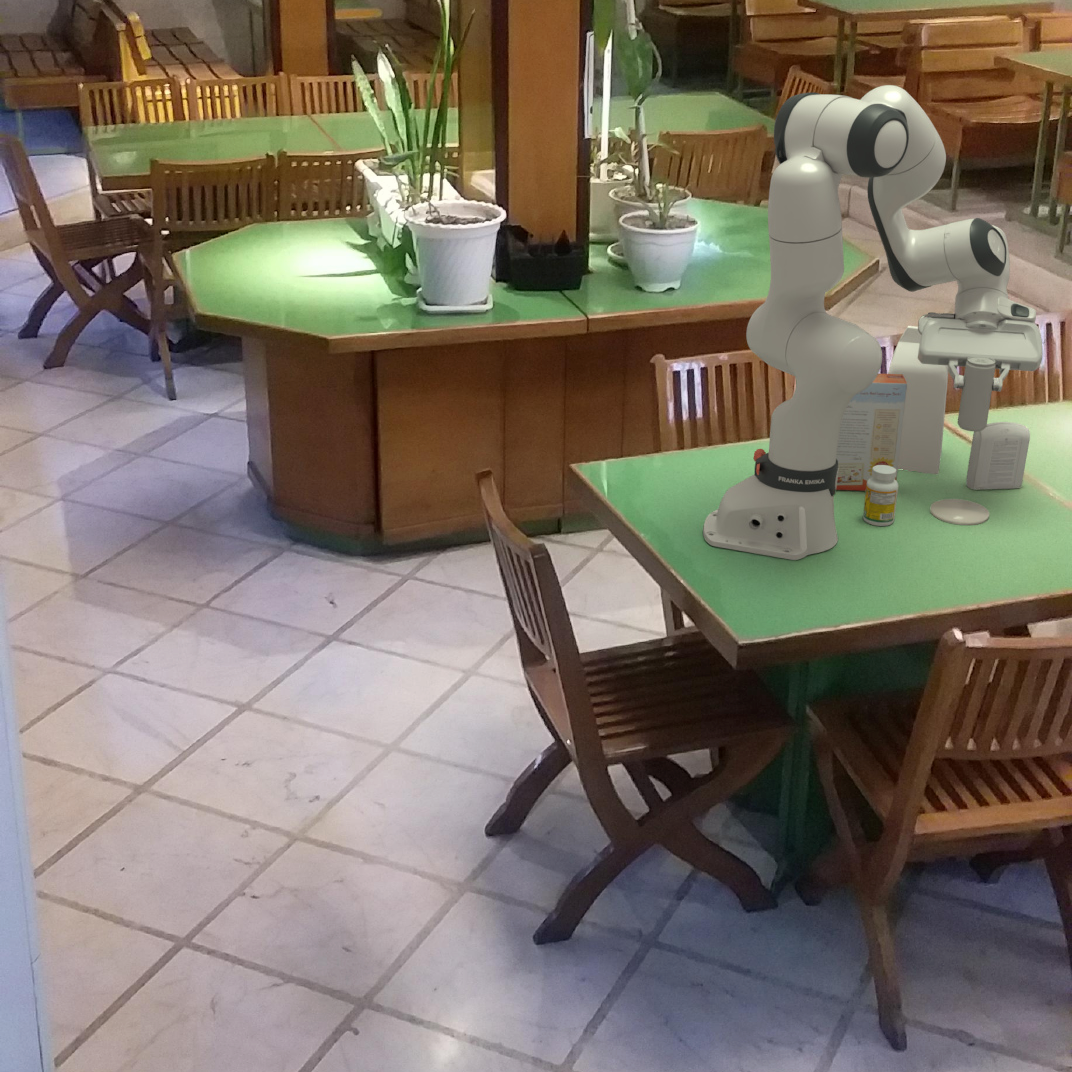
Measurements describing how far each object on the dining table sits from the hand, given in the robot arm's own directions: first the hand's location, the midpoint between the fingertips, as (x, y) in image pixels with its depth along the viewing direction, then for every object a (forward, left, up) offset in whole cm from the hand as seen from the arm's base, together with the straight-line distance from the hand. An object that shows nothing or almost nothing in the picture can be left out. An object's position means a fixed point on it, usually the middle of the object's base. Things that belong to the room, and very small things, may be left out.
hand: (977, 388), depth 245 cm
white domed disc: (0, +1, -23) cm, 23 cm away
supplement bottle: (-14, -5, -24) cm, 28 cm away
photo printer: (+7, +15, -24) cm, 29 cm away
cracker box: (-18, +10, -24) cm, 31 cm away
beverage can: (0, +1, -7) cm, 7 cm away
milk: (-8, +25, -24) cm, 35 cm away
